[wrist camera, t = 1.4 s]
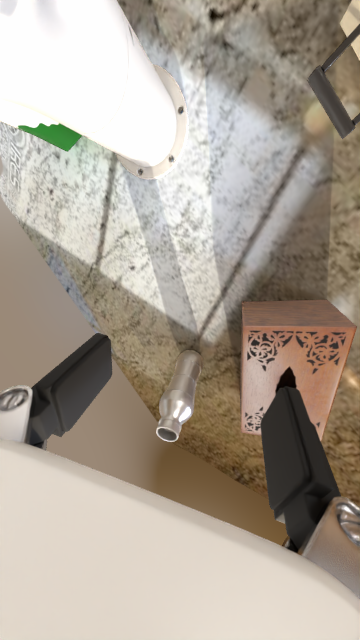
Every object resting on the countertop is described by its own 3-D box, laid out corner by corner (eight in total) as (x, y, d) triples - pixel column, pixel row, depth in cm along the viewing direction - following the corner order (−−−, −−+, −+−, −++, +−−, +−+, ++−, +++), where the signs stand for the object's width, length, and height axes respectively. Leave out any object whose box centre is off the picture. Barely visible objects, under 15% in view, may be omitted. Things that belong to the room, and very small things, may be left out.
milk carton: (101, 124, 31) (-65, 9, 14) (67, 161, 35) (-97, 107, 18) (66, 56, 28) (-192, -190, 11) (33, 104, 32) (-198, -25, 15)
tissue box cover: (241, 301, 38) (243, 325, 30) (327, 299, 34) (357, 326, 26) (240, 395, 50) (240, 432, 41) (304, 402, 46) (320, 444, 37)
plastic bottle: (173, 355, 49) (140, 429, 32) (191, 341, 46) (164, 415, 29) (192, 371, 50) (168, 451, 33) (210, 359, 47) (195, 440, 30)
